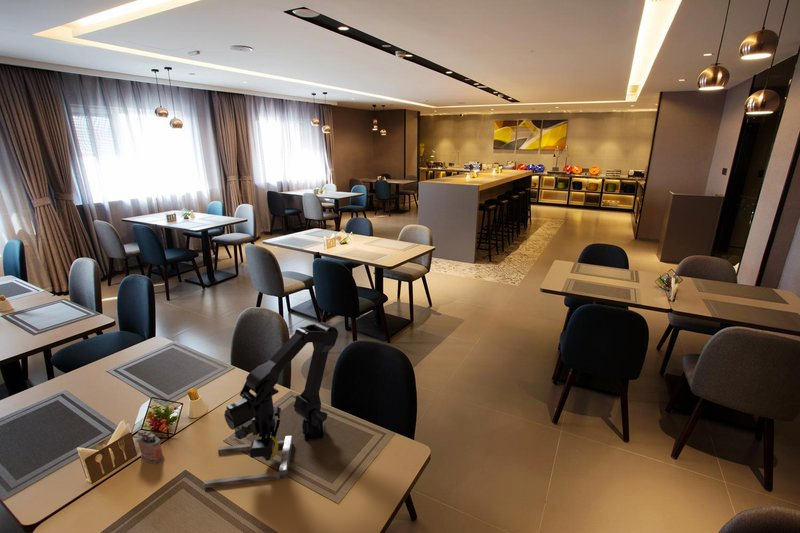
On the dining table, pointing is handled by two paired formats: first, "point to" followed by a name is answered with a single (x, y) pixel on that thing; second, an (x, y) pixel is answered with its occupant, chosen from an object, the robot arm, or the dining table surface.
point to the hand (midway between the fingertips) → (269, 452)
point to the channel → (259, 477)
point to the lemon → (274, 447)
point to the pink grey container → (150, 447)
